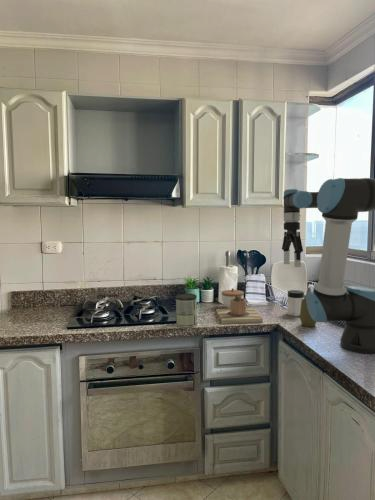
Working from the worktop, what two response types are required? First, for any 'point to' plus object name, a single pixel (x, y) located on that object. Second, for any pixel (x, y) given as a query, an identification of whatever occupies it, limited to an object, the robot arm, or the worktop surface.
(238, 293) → the lidded bowl
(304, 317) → the squeeze bottle
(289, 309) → the jar
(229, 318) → the post stand
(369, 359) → the worktop surface
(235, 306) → the copper sleeve
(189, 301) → the coffee can
